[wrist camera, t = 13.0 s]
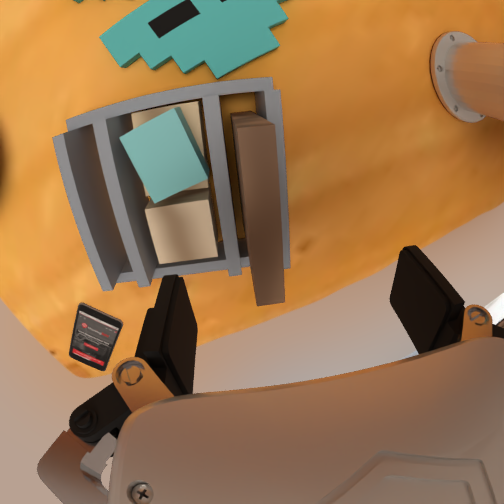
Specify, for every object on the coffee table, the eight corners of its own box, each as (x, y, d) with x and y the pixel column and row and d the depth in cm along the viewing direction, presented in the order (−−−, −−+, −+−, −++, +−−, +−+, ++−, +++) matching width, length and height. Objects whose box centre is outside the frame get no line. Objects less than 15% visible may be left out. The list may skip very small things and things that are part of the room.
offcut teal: (179, 106, 22) (174, 107, 19) (209, 169, 25) (208, 178, 23) (130, 132, 23) (119, 137, 20) (161, 192, 26) (154, 203, 23)
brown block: (250, 111, 26) (275, 124, 14) (260, 219, 32) (285, 302, 20) (230, 113, 26) (236, 128, 14) (242, 221, 32) (256, 306, 20)
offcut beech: (210, 182, 30) (208, 199, 26) (218, 233, 33) (217, 256, 29) (155, 191, 30) (144, 209, 25) (166, 240, 33) (159, 264, 28)
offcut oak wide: (201, 100, 25) (197, 101, 22) (210, 175, 30) (208, 187, 26) (142, 110, 25) (131, 113, 22) (154, 183, 29) (145, 196, 26)
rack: (265, 79, 25) (278, 74, 19) (278, 243, 34) (290, 278, 28) (83, 115, 24) (49, 124, 18) (123, 263, 33) (107, 300, 27)
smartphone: (68, 356, 41) (79, 302, 36) (69, 353, 42) (80, 299, 36) (104, 372, 44) (123, 323, 38) (105, 369, 44) (124, 319, 39)
